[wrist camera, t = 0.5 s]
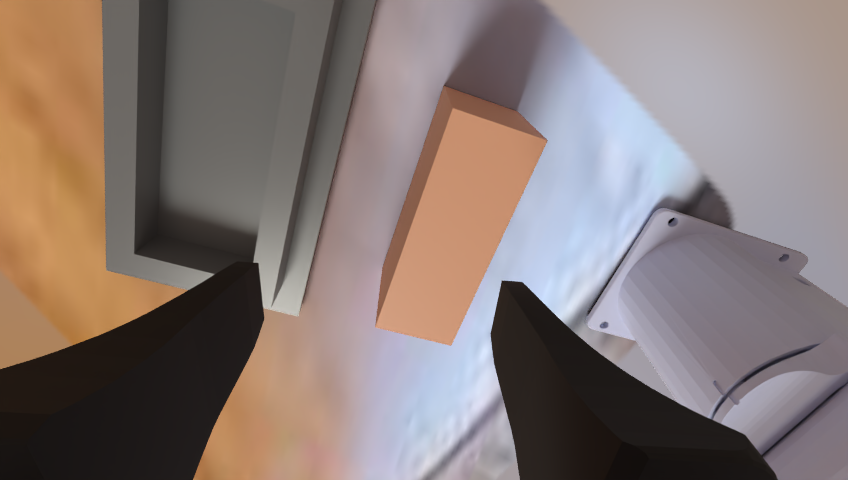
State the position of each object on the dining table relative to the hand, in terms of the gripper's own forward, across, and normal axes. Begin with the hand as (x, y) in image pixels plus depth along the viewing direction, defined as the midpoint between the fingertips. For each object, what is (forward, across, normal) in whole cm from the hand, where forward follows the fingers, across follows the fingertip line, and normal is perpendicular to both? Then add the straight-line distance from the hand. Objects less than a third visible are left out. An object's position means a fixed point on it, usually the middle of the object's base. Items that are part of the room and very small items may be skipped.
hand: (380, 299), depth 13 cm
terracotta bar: (+10, -2, 0) cm, 10 cm away
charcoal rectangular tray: (+9, +8, -2) cm, 12 cm away
